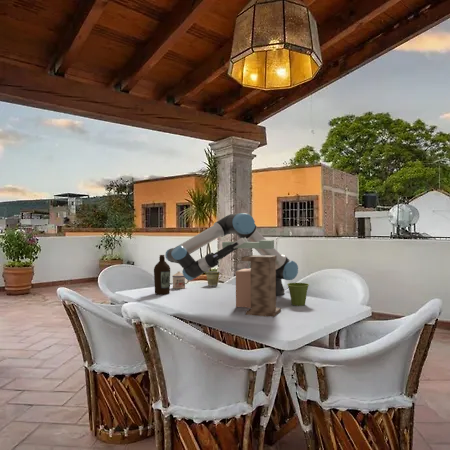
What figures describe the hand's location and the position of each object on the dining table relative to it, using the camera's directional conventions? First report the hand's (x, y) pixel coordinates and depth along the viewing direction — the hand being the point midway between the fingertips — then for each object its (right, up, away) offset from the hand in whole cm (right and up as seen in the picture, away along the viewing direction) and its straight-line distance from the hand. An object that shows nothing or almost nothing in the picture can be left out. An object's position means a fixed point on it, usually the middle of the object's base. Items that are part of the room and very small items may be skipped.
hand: (244, 239), depth 192 cm
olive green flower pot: (-18, -37, +86) cm, 95 cm away
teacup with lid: (-41, -37, +77) cm, 95 cm away
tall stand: (+7, -36, -3) cm, 37 cm away
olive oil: (-51, -37, +53) cm, 82 cm away
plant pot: (+30, -36, +15) cm, 49 cm away
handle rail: (+1, -4, -1) cm, 4 cm away
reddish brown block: (+5, -36, +15) cm, 40 cm away
